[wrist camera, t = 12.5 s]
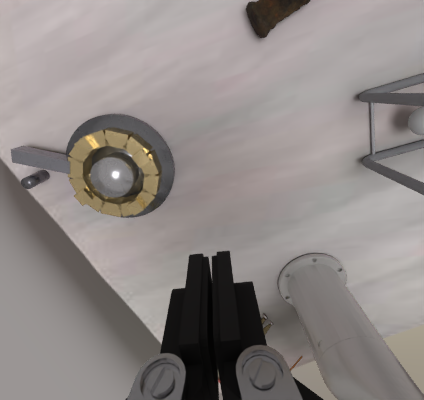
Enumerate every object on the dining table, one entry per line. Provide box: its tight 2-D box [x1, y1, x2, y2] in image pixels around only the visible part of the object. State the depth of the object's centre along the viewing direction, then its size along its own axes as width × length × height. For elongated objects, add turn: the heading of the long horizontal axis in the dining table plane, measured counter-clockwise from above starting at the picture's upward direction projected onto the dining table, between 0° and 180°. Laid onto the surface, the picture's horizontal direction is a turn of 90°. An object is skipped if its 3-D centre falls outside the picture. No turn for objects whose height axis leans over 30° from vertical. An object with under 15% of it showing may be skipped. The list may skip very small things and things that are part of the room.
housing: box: [21, 114, 174, 218], centre depth 36 cm, size 16×21×5 cm
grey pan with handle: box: [11, 127, 162, 217], centre depth 35 cm, size 20×12×4 cm, turn 77°
